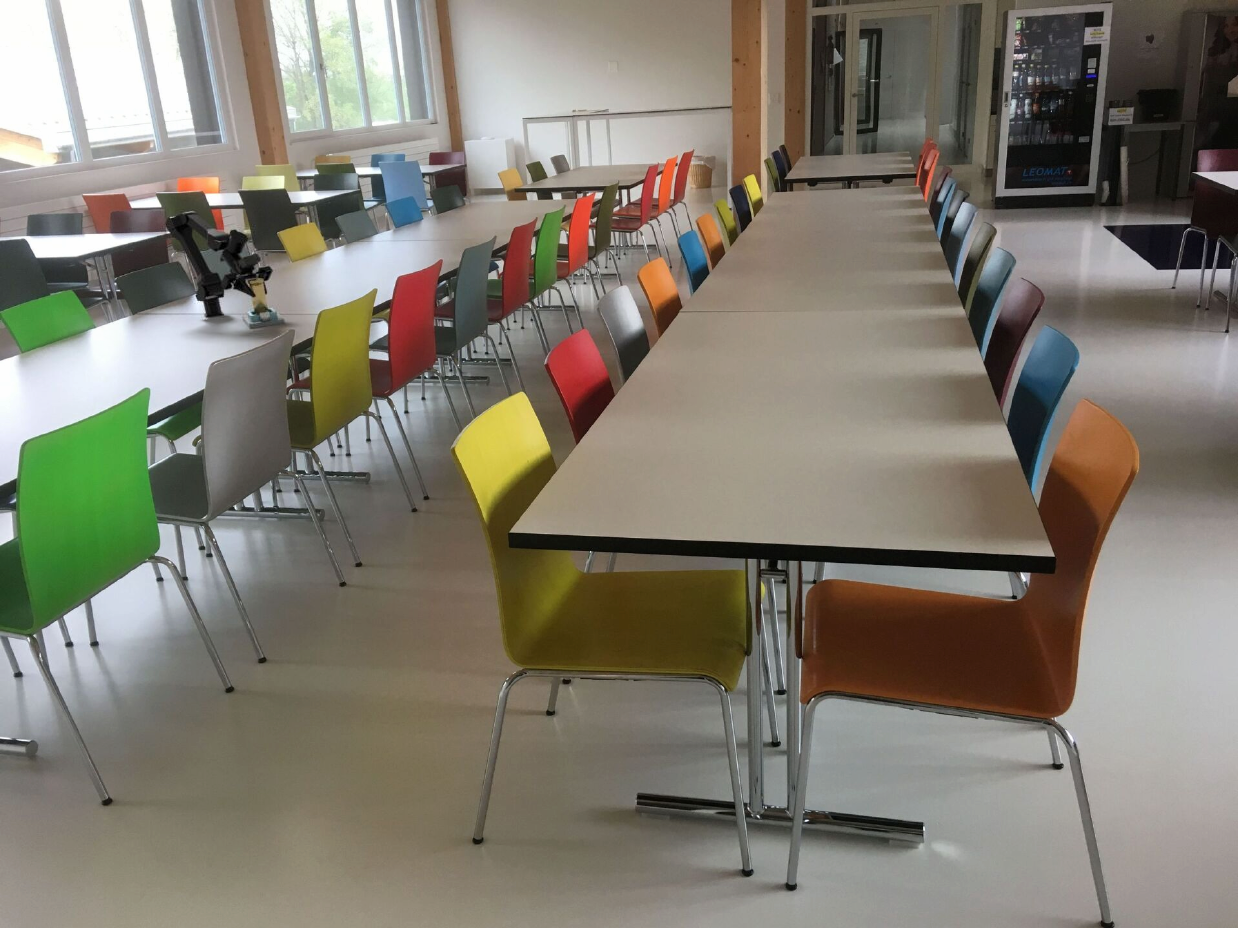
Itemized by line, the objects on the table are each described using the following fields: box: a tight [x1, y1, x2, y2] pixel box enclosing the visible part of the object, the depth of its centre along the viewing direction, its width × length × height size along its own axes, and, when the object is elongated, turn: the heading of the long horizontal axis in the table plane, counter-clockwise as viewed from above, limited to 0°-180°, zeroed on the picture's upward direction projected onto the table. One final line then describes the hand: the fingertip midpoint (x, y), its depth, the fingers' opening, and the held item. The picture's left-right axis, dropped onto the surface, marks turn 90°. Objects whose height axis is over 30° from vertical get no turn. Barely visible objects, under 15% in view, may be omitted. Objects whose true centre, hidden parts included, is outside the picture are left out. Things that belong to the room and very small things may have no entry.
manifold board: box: [241, 307, 286, 329], centre depth 347 cm, size 18×12×4 cm, turn 28°
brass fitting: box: [247, 278, 269, 314], centre depth 345 cm, size 5×5×12 cm
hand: (260, 295), depth 344 cm, fingers closed on brass fitting, 5 cm apart
